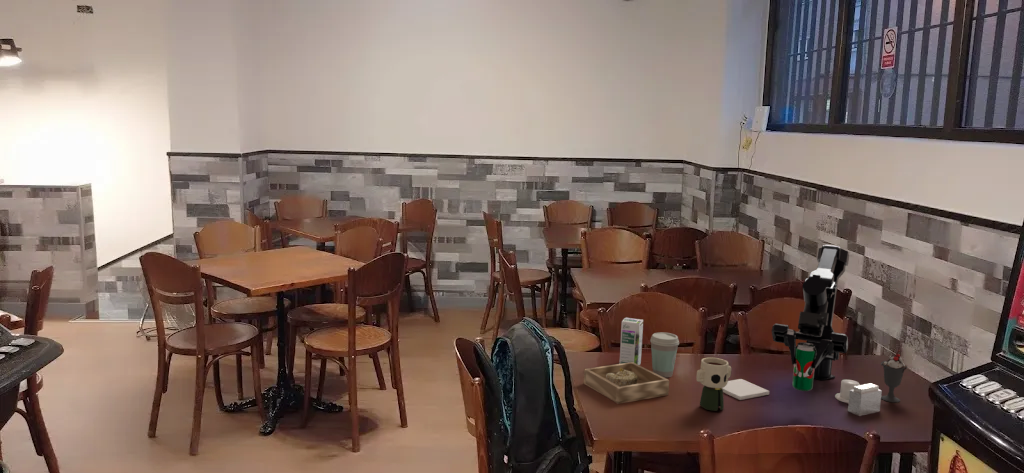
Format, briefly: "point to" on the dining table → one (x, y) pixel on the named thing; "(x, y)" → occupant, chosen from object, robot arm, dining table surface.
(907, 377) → the dining table surface
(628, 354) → the syrup box
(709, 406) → the character mug
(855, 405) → the napkin holder
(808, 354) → the soda can
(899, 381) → the sundae
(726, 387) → the coaster
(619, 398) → the bread tray
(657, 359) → the coffee cup
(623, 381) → the coiled snake
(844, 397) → the white flanged peg
